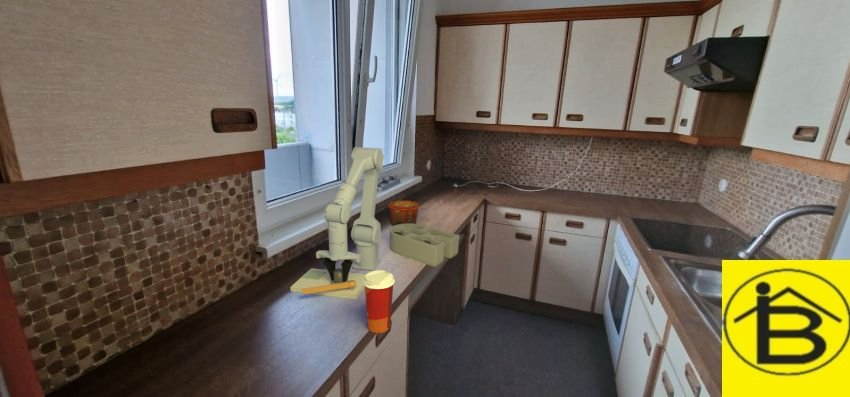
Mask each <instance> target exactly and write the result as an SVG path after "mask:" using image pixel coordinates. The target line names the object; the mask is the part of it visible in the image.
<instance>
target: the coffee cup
mask: <svg viewBox="0 0 850 397" xmlns="http://www.w3.org/2000/svg"><path fill="white" fill-rule="evenodd" d="M395 282H396V281H395V278H394V275H393V274H392V273H390V272H389V271H386V270H380V269H379V270H371V271H369V272H367V273H366V276H365V279H364V280H363V284H364V285H365V288H364V293H365V308H366V319H367V320H366V321H367V327H368V331H370V333H373V334H383V333H386V332H388V331H389V330H390V328H391V320H392V319H391V318H392V311H393V310H392V308H393V307H392V306H393V294H394V293H393V292H394V284H395Z"/></svg>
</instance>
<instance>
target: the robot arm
mask: <svg viewBox="0 0 850 397" xmlns="http://www.w3.org/2000/svg"><path fill="white" fill-rule="evenodd" d="M384 157H385V156H384V153H383V151H382V149H381V148H379V147H375V148H374V147H364V146H363V147H359V146H355V147H354V148H353V149H352V151H351V154H350V160H351V166H350V169H349V170H348V174H347V176H346V180H345V183H341V184H339V187H338V190H337V191H336V194H335V195H334V197H333V199H332V202H331V203H329V204H328V205H327V206H326V207H325V208H324V211H323V212H324V213H323V219H324V221H325V223H326V228H328V249H329V250H317V251H316V252H315V256H316V259H320V258H321V259H324V260H323V262H322V263H323V266H324V267H325V269H326V270H328V272H329V275H330V278H331V280H334V273H333V271H334V270H335V269H336V264H337V261H339V260H340V261H342V262H341V263H340V266H341V268H342V270H343V282H346V281H347V279H348V274H349V273H350V271H351V267H352V269H356V270H366V271H375V269H376V268H377V266H378V265H379V263H380V262H381V258H379V244H378V243H379V242H380V241H381V237H382V231H381V230H382V229H381V222H379V221H378V220H377V219H376V217H375V214H376V202H377V193H378V184H379V178H380V177H379V175H380V173H382V172H383V168H384V167H383V166H384V159H385V158H384ZM363 174H364V178H363V187H362V189H363V190H362V196H361V197H362V198H361V206H360V207H361V209H360V215H359V218H357V219H355V220H354V221H353V224H352V228H351V231H350V237H351V240H352V241H354V244H355V245H356V252H351V251H348V247H349V246H348V222H349V221H350V219H351V214H352V213H351V212H352V204H353V202H354V199H355V197H356V195H357V192H358V191H357V189H356V187H357V185H358V183H359V181H360V179H361V178H362V176H363ZM354 262H356V263H355V264H354V265H353V263H354ZM352 265H353V266H352Z"/></svg>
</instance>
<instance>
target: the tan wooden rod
mask: <svg viewBox="0 0 850 397" xmlns="http://www.w3.org/2000/svg"><path fill="white" fill-rule="evenodd" d="M348 287H349V288H354V287H356V281H355V280H350V281H348V282H344V283H337V284H330V285H323V286H317V287H310V288H303V289H302V293H301V294H302V295H307V294H308V295H310V294H309V293H315V292H322V291H328V290H335V289H341V288H348Z"/></svg>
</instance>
